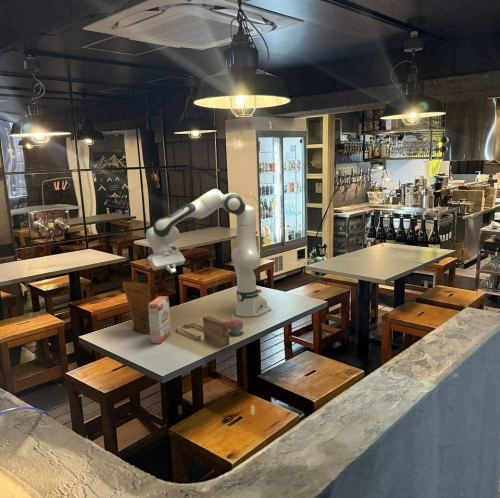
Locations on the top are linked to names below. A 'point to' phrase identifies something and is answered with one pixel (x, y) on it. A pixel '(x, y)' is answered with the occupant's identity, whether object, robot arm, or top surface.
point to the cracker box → (159, 319)
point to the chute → (184, 331)
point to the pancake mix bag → (138, 305)
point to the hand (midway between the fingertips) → (173, 272)
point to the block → (216, 330)
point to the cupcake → (235, 326)
